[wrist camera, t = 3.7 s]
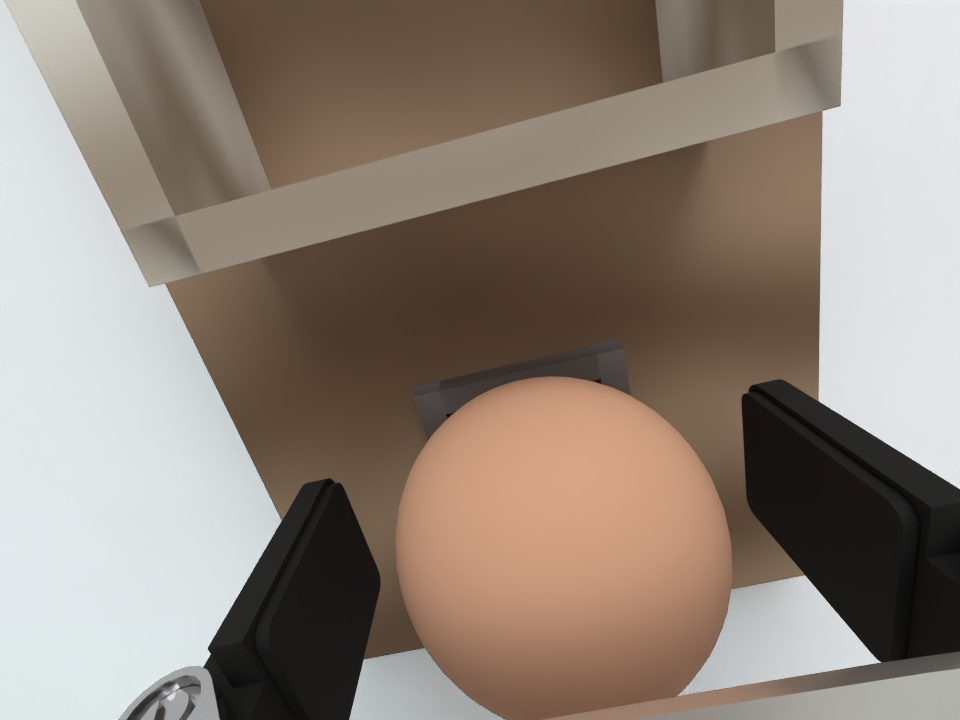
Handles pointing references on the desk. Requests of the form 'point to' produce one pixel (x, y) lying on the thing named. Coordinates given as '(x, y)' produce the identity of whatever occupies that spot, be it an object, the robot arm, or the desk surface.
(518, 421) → the terracotta ball
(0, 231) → the desk surface
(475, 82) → the sorting board
